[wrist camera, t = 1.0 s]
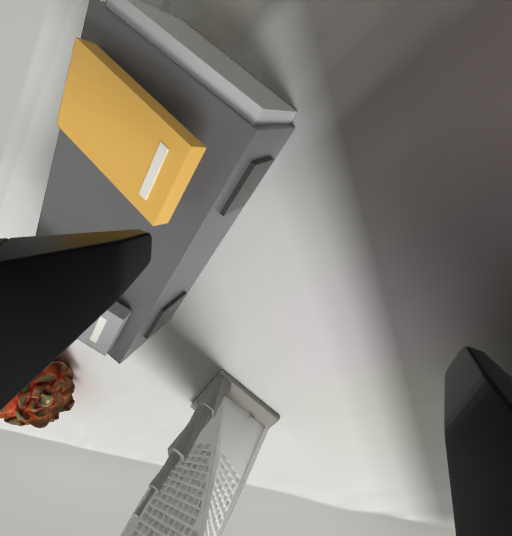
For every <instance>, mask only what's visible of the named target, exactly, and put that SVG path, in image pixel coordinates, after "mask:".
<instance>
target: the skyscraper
mask: <svg viewBox="0 0 512 536" xmlns="http://www.w3.org/2000/svg"><path fill="white" fill-rule="evenodd" d="M190 407H191V408H193V409H194V410H195V412H194V414H193V416H192V418H191V420H190V421H189V423H188V425H187V426H186V427H185V429H184V430H183V431H182V432H181V433H180V435H179V436H178V437H177V438H176V439H175V441H174V442H173V443H172V444H171V445H170V447H169V448H168V455H169V457H168V459H167V461H166V463H165V464H164V466H163V467H162V469H161V470H160V472H159V473H158V474H157V475H156V477H155V478H154V479H153V481H152V482H151V483H150V485H149V488H148V490H147V492H146V493H145V495H144V496H143V498H142V500H141V501H140V503H139V504H138V506H137V508H136V510H135V512H134V513H133V515H132V516H131V518H130V520H129V522H128V523H127V525H126V527H125V529H124V531H123V532H122V534H121V536H221V534H222V532H223V530H224V528H225V526H226V524H227V522H228V520H229V517H230V515H231V513H232V511H233V509H234V507H235V505H236V502H237V500H238V498H239V496H240V494H241V491H242V489H243V487H244V485H245V482H246V480H247V478H248V476H249V473H250V471H251V469H252V467H253V464H254V462H255V459H256V457H257V455H258V452H259V450H260V448H261V445H262V443H263V441H264V438H265V436H266V434H267V431H268V429H269V428H270V427H271V426H272V425H274V424H275V423H276V422H277V421H279V418H280V416H279V415H277V414H276V413H275V412H274V411H273V410H271V409H270V408H269V407H268V406H266V405H265V404H264V403H263V402H262V401H260V400H259V399H258V398H257V397H255V396H254V395H253V394H252V393H251V392H249V391H248V390H247V389H246V388H244V387H243V386H242V385H241V384H240V383H238V382H237V381H236V380H235V379H233V378H232V377H231V376H230V375H229V374H227V373H226V372H225V371H224V370H223V369H222V370H221V371H220V372H219V373H218V374H217V376H216V377H215V378H214V379H213V380H212V381H211V383H210V384H209V385H208V386H207V387H206V388H205V390H204V391H203V392H202V393H201V394H200V395H199V397H198V398H197V399H196V400H195V401H194V402H193V404H192V405H191V406H190Z"/></svg>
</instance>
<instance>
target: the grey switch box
mask: <svg viewBox="0 0 512 536" xmlns="http://www.w3.org/2000/svg"><path fill="white" fill-rule="evenodd" d="M81 39H83V40H86V41H89V42H92V43H95V44H96V45H98V46H99V47H100V48H101V49H102V50H103V51H104V52H105V53H106V54H107V55H108V56H109V57H110V58H111V59H113V60H114V61H115V62H116V63H117V64H118V65H119V66H120V67H121V68H122V69H123V70H124V71H125V72H126V73H127V74H129V75H130V76H131V77H132V78H133V79H134V80H135V81H136V82H137V83H138V84H139V85H140V86H141V87H142V88H144V89H145V90H146V91H147V92H148V93H149V94H150V95H151V96H152V97H153V98H154V99H155V100H156V101H157V102H158V103H160V104H161V105H162V106H163V107H164V108H165V109H166V110H167V111H168V112H169V113H170V114H171V115H172V116H173V117H175V118H176V119H177V120H178V121H179V122H180V123H181V124H182V125H183V126H184V127H185V128H186V129H187V130H188V131H189V132H191V133H192V134H193V135H194V136H195V137H196V138H197V139H198V140H199V141H200V142H201V143H202V144H203V145H204V146H205V147H207V148H206V150H205V152H204V154H203V156H202V158H201V160H200V162H199V164H198V166H197V168H196V170H195V171H194V173H193V175H192V177H191V179H190V181H189V183H188V185H187V187H186V189H185V191H184V193H183V195H182V197H181V199H180V201H179V203H178V205H177V207H176V209H175V211H174V212H173V214H172V216H171V218H170V220H169V222H168V223H166V224H161V225H157V226H152V225H151V223H150V222H149V221H148V220H147V219H146V218H145V217H144V216H143V215H142V214H141V213H140V212H139V211H138V210H137V209H136V208H135V207H134V206H133V204H132V203H131V202H130V201H129V200H128V199H127V198H126V197H125V196H124V195H123V194H122V193H121V192H120V191H119V190H118V189H117V188H116V187H115V185H114V184H113V183H112V182H111V181H110V180H109V179H108V178H107V177H106V176H105V175H104V174H103V173H102V172H101V171H100V170H99V169H98V168H97V167H96V165H95V164H94V163H93V162H92V161H91V160H90V159H89V158H88V157H87V156H86V155H85V154H84V153H83V152H82V151H81V150H80V149H79V148H78V146H77V145H76V144H75V143H74V142H73V141H72V140H71V139H70V138H69V137H68V136H67V135H66V134H65V133H64V132H63V131H62V130H61V129H60V131H59V136H58V140H57V144H56V149H55V153H54V158H53V162H52V166H51V171H50V175H49V179H48V184H47V188H46V192H45V197H44V201H43V206H42V210H41V214H40V219H39V223H38V227H37V232H36V236H46V235H60V234H74V233H88V232H102V231H116V230H130V229H140V230H143V231H146V232H149V233H150V234H151V236H152V254H151V261H150V263H149V265H148V266H147V267H146V268H145V269H144V271H143V272H142V273H141V274H140V275H139V276H138V278H137V279H136V280H135V281H134V282H133V283H132V285H131V286H130V287H129V288H128V289H127V291H126V292H125V293H124V294H123V295H122V296H121V297H120V298H119V299H118V300H117V302H118V303H120V304H121V305H123V306H125V307H126V308H128V309H129V310H131V311H132V312H131V313H130V315H129V317H128V319H127V321H126V323H125V325H124V326H123V328H122V330H121V332H120V334H119V336H118V338H117V340H116V341H115V343H114V345H113V347H112V348H111V349H110V350H109V351H108V352H107V353H108V354H109V355H110V356H111V357H112V358H113V359H114V360H116V361H117V362H118V363H119V364H120V363H121V362H123V361H124V360H125V359H126V358H127V357H128V356H129V355H130V354H132V353H133V352H134V351H135V350H136V349H137V348H138V347H140V346H141V345H142V344H143V343H144V342H145V341H146V340H148V339H149V338H150V337H151V336H152V335H153V334H154V333H156V332H157V331H158V330H159V329H160V328H161V327H162V326H163V325H165V324H166V323H167V322H168V321H169V320H170V318H171V317H172V315H173V314H174V312H175V311H176V309H177V308H178V306H179V305H180V303H181V302H182V300H183V299H184V297H185V295H186V294H187V292H188V291H189V289H190V288H191V286H192V285H193V283H194V282H195V280H196V279H197V277H198V276H199V274H200V273H201V271H202V269H203V268H204V266H205V265H206V263H207V262H208V260H209V259H210V257H211V256H212V254H213V253H214V251H215V250H216V248H217V247H218V245H219V243H220V242H221V240H222V239H223V237H224V236H225V234H226V233H227V231H228V230H229V228H230V227H231V225H232V224H233V222H234V221H235V219H236V217H237V216H238V214H239V213H240V211H241V210H242V208H243V207H244V205H245V204H246V202H247V201H248V199H249V198H250V196H251V195H252V193H253V192H254V190H255V188H256V187H257V185H258V184H259V182H260V181H261V179H262V178H263V176H264V175H265V173H266V172H267V170H268V169H269V167H270V166H271V164H272V162H273V161H274V159H275V158H276V156H277V155H278V153H279V152H280V150H281V149H282V147H283V146H284V144H285V143H286V141H287V140H288V138H289V136H290V135H291V133H292V132H293V130H294V129H295V127H293V126H292V125H291V124H290V123H291V122H292V120H293V119H294V117H295V115H296V114H297V111H296V110H295V109H293V108H292V107H291V106H290V105H288V104H287V103H286V102H285V101H283V100H282V99H281V98H280V97H278V96H277V95H276V94H274V93H273V92H272V91H271V90H269V89H268V88H267V87H266V86H264V85H263V84H262V83H261V82H259V81H258V80H257V79H256V78H254V77H253V76H252V75H251V74H249V73H248V72H247V71H245V70H244V69H243V68H242V67H240V66H239V65H238V64H237V63H235V62H234V61H233V60H232V59H230V58H229V57H228V56H227V55H225V54H224V53H223V52H222V51H220V50H219V49H218V48H217V47H215V46H214V45H213V44H211V43H210V42H209V41H208V40H206V39H205V38H204V37H203V36H201V35H200V34H199V33H198V32H196V31H195V30H194V29H193V28H191V27H190V26H189V25H188V24H186V23H185V22H184V21H182V20H180V19H178V18H176V17H174V16H172V15H170V14H168V13H165V12H163V11H161V10H159V9H157V8H155V7H153V6H150V5H148V4H146V3H144V2H142V1H140V0H106V3H104V2H101V1H99V0H90V1H89V5H88V9H87V14H86V18H85V22H84V27H83V31H82V35H81Z"/></svg>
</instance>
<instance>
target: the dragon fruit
mask: <svg viewBox="0 0 512 536" xmlns="http://www.w3.org/2000/svg"><path fill="white" fill-rule="evenodd" d="M72 378H73V374H72V371H71V368H70V365H69V364H68V363H66V362H62V361H61V362H54V361H53V362H52V363H51V364H49V365H48V366H47V367H46V368H45V369H44V370H43V371H42V372H41V373H40V374H39V375H38V376H37V377H36V378H35V379H34V380H32V381H31V382H30V383H29V384H28V385H27V386H26V387H25V388H24V389H23V390H22V391H21V392H20V393H19V394H18V395H17V396H15V397H14V398H13V399H12V400H11V401H10V402H9V403H8V404H7V405H6V406H5V407H4V408H3V409H2V410H1V411H0V418H4V421H5V422H7V423H10V424H13V425H19V426H23V425H29V424H31V425H33V426H34V427H37V428H44V427H45V426H47V425H48V423H49V422H54V420H56V419H59V412H63V411H69V410H71V408H72V407H73V405H74V402H75V401H74V400H73V397H72V393H73V392H74V389H75V385H74V384H73V382H72Z"/></svg>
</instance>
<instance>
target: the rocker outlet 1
mask: <svg viewBox="0 0 512 536" xmlns="http://www.w3.org/2000/svg"><path fill="white" fill-rule="evenodd" d="M131 312H132V311H131V310H129V309H128V308H126V307H125V306H123V305H121V304H120V303H118V302H117V301H116V302H115V303H114V304H113V305H112V306H111V307H110V308H109V309H108V310H107V311H106V312H105V313H104V314H103V315H102V316H101V317H99V318H98V319H97V320H96V321H95V322H94V323H93V324H92V325H91V326H90V327H89V328H88V329H87V330H86V331H85V332H84V333H82V334H81V335H80V336H79V337H78V338H77V339H78V340H80V341H82V342H83V343H85V344H86V345H88V346H90V347H91V348H93V349H95V350H96V351H98V352H99V353H101V354H103V355H104V356H105V355H106V354H107V352H108V351H109V350H110V349H111V348H112V347H113V345H114V343H115V341H116V340H117V338H118V336H119V334H120V332H121V330H122V328H123V326H124V325H125V323H126V321H127V319H128V317H129V315H130V313H131Z"/></svg>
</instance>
